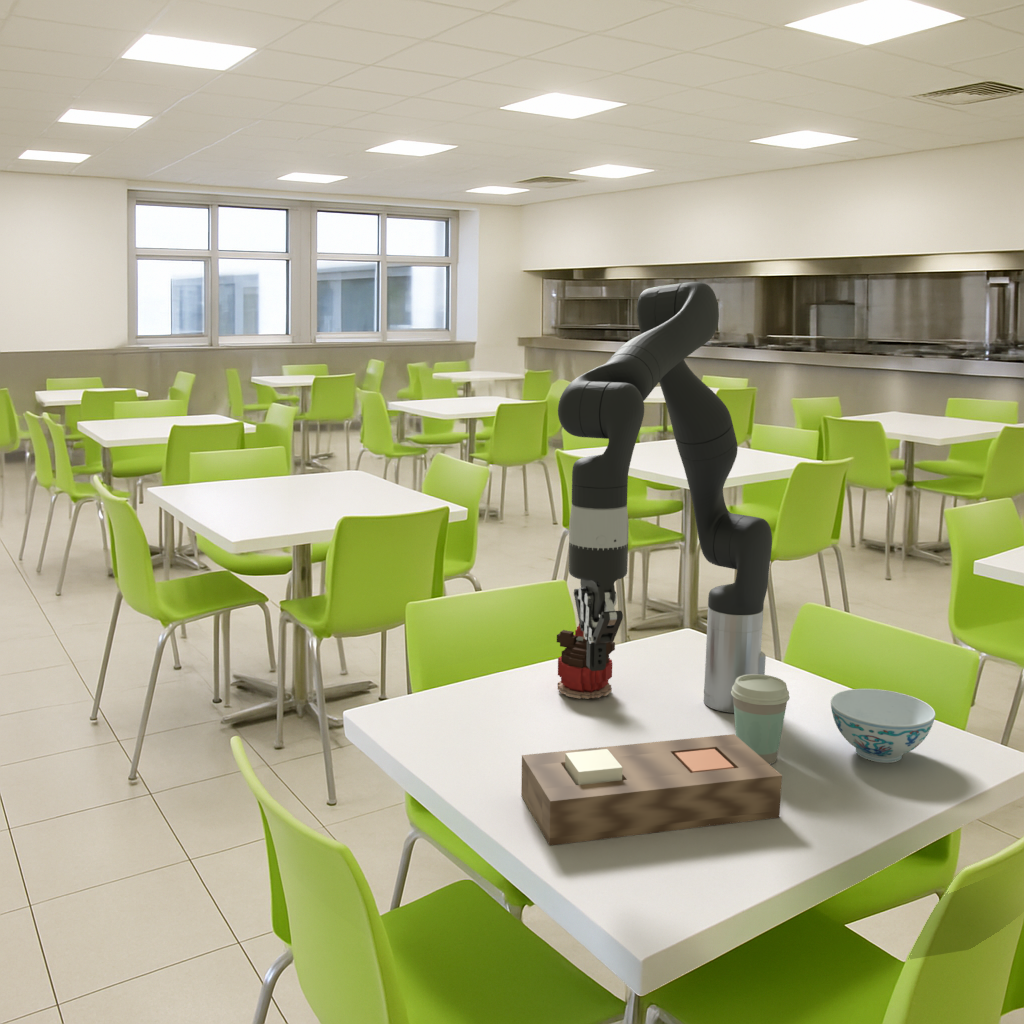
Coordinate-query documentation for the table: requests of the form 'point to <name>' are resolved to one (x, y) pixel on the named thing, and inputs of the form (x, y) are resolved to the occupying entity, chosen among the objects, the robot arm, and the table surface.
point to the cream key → (592, 767)
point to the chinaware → (881, 722)
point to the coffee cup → (760, 712)
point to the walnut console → (650, 791)
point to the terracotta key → (703, 760)
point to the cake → (581, 668)
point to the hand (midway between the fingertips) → (595, 668)
